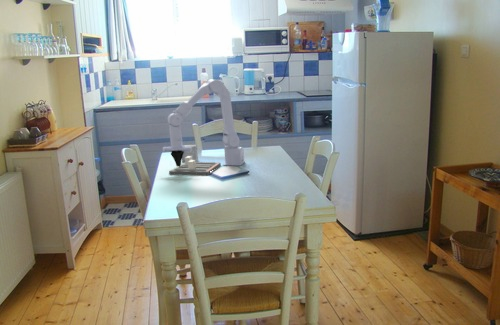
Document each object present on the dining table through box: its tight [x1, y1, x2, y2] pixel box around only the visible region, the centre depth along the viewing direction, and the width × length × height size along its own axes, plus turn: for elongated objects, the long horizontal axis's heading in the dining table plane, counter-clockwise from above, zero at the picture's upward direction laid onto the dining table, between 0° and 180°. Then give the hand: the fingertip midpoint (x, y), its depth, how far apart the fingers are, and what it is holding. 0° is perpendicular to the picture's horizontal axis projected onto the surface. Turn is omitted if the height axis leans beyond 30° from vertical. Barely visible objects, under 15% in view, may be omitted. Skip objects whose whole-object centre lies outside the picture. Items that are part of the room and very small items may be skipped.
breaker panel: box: [168, 161, 222, 176], centre depth 226 cm, size 20×18×2 cm
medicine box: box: [181, 144, 199, 163], centre depth 244 cm, size 8×4×9 cm, turn 84°
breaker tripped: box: [188, 160, 196, 169], centre depth 222 cm, size 2×4×4 cm, turn 165°
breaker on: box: [185, 156, 193, 164], centre depth 231 cm, size 2×4×4 cm, turn 164°
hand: (178, 165), depth 224 cm, fingers closed
